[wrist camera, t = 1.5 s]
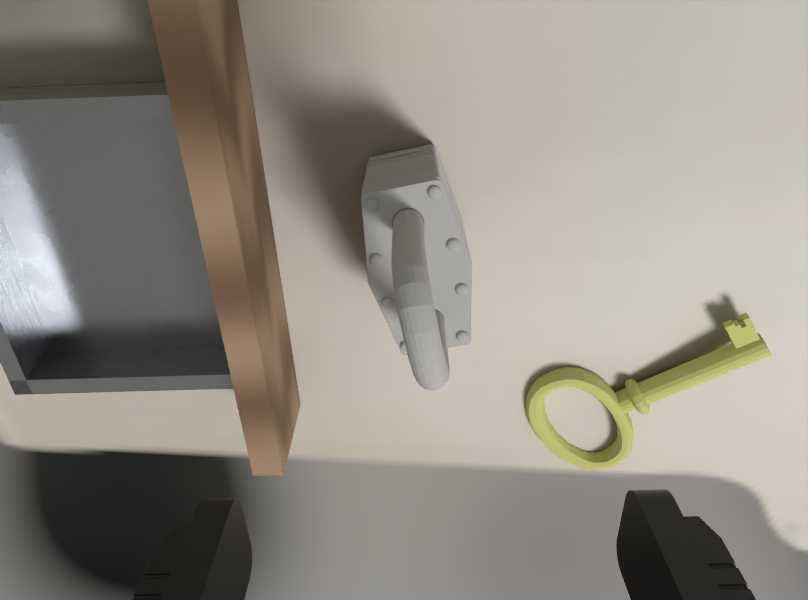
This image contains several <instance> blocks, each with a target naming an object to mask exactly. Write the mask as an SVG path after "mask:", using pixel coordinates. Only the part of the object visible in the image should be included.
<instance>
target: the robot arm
mask: <svg viewBox="0 0 808 600" xmlns="http://www.w3.org/2000/svg"><path fill="white" fill-rule="evenodd" d="M617 557H618V562H619V567H620V571H621V574H622V576H623V579H624V582H625V585H626V587H627V590H628V593H629V596H630V598H631V600H756V599H755V597H754V595H753V594H752V592H751V590H750V589H748V588H747V583H746V581H745V580H744V578H743V576H742V574H741V572H740V571H739V569H738V568H736V566H735V562H734V560H733V558H732V557H731V555H730V553H729V551H728V550H727V548H726V546H725V544H724V542H723V541H722V539H721V537H719V536H718V535H717V534H716V533H715V532H714V531H713V530H712V529H711V528H710V527H709V526H708V525H707V524H706V523H705V522H704V521H702V519H700V518H699V517H698V516H694V517H683V515H682V513H681V511H680V509H679V507H678V505H677V503H676V502H675V499H674V498H673V496H672V494H671V493H670V492H669V491H668V490H630V491H628V492H627V494H626V498H625V503H624V507H623V512H622V518H621V522H620V527H619V532H618V537H617ZM251 568H252V547H251V543H250V538H249V534H248V530H247V526H246V521H245V517H244V513H243V509H242V505H241V502H240V500H239V499H238V498H232V499H202V500H201V501H200V502H199V503H198V505H197V508H196V510H195V512H194V515H193V517H192V520H191V522H190V525H189V527H173V528H172V529H171V530H170V532H169V533H168V534H167V535H166V536H165V537H164V538H163V539H162V541H161V542H160V543H159V544H158V545H157V546H156V547H155V548H154V550H153V552H152V554H151V557H150V559H149V561H148V563H147V566H146V568H145V571H144V572H143V578H142V579H141V580H140V582H139V584H138V586H137V589H136V591H135V593H134V599H133V600H244V599H245V595H246V591H247V587H248V583H249V579H250V575H251Z"/></svg>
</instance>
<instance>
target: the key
mask: <svg viewBox="0 0 808 600" xmlns="http://www.w3.org/2000/svg"><path fill="white" fill-rule="evenodd" d="M740 316H741V318H742V320H743V322H740V323H739V322H738V321H737V320H734V321H732V320H731V319H730V320H728V321H726V322H723V323H722V324H723V326H724V327H725V329H726V331H727V333H728V335H729V337H730V339H731V341H732V344H729V345H727V346H724V347H722V348H720V349H717V350H715V351H712V352H710V353H708V354H705V355H703V356H700V357H698V358H696V359H693V360H691V361H688V362H686V363H684V364H681V365H679V366H676V367H674V368H672V369H669V370H667V371H664V372H662V373H660V374H657V375H655V376H653V377H650V378H648V379H645V380H643V381H641V382H636V381H635V380H634V379H632V378H630V379H627V380H626V382H625V388H624V389H621V390H619V391H617V392H614V391H613V389H612V388H611V387H610V386H609V385H608V384H607V383H606V382H605V381H604V380H603V379H601V378H600V377H599V376H597V375H596V374H594V373H592V372H589V371H587V370H584V369H582V368H576V367H562V368H558V369H554V370H552V371H549V372H547V373H545V374H543V375H542V376H540V377H538V379H537V380H536V381H535V382H534V383H533V384H532V386H531V387H530V389H529V391H528V394H527V398H526V415H527V418H528V421H529V423H530V425H531V427H532V429H533V431H534V432H535V434H536V435H537V436H538V438H539V439H540V440H541V441H542V442H543V443H544V444H545V445H546V447H548V448H549V449H550V450H551V451H552V452H553V453H554V454H555V455H557V456H558V457H559V458H561V459H563V460H565V461H567V462H569V463H571V464H573V465H575V466H578V467H581V468H585V469H593V470H596V469H605V468H609V467H612V466H614V465H616V464H618V463H620V462H621V461H623V460H624V459H625V458H626V457H627V456H628V454H629V452H630V451H631V449H632V442H633V430H632V423H631V419H630V417H629V415H628V412H631V411H633V410H636V409H637V410H638V411H639V412H640V413H642V414H647V413H648V412H649V404H651V403H653V402H656V401H658V400H661V399H663V398H666V397H668V396H671V395H673V394H676V393H678V392H681V391H683V390H686V389H688V388H691V387H693V386H696V385H698V384H701V383H703V382H706V381H708V380H711V379H713V378H716V377H718V376H721V375H723V374H726V373H728V372H730V371H733V370H735V369H738V368H740V367H743V366H745V365H748V364H750V363H753V362H755V361H758V360H760V359H763V358H765V357H768V356H770V355H771V353H770V350H769V349H768V347H767V345H766V343H765V342H764V340H763V338H762V337H761V336H760V334H759V333H757V332H756V330H755V328H754V326H753V324H752V322H751V319H750V317H749V316H748V315H747V313H744V314H742V315H740ZM564 387H575V388H580V389H582V390H584V391H586V392H588V393H590V394H592V395H593V396H595V397H596V398H597V399H599V400H600V401H601V402H602V403H603V404H604V405H605V406H606V407H607V408H608V410H609V411H610V412H611V414H612V415H613V418H614V420H615V422H616V425H617V437H616V439H615V441H614V442H613V444H612V445H611V446H609V447H608V448H606V449H605V450H603V451H599V452H586V451H583V450H581V449H579V448H576V447H574V446H573V445H571V444H569V443H568V442H566V441H565V440H564V439H563V438H562V437H560V436H559V435H558V434H557V432H556V431H555V430H554V429H553V427H552V426H551V424H550V422H549V420H548V418H547V416H546V413H545V408H544V398H545V396H546V395H547V394H548V393H549V392H551V391H553V390H556V389H559V388H564Z"/></svg>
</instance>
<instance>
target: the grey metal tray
mask: <svg viewBox="0 0 808 600" xmlns="http://www.w3.org/2000/svg"><path fill="white" fill-rule="evenodd" d="M0 362H1V364H2V367H3V369H4V371H5V373H6V375H7V378H8V380H9V382H10V384H11V386H12V389H13V391H14V393H15V395H17V394H53V393H89V392H125V391H161V390H197V389H233V383H232V379H231V374H230V370H229V365H228V361H227V356H226V352H225V347H224V343H223V339H222V334H221V330H220V325H219V321H218V316H217V312H216V307H215V303H214V298H213V294H212V289H211V285H210V280H209V276H208V271H207V267H206V262H205V258H204V253H203V249H202V244H201V240H200V236H199V231H198V227H197V222H196V218H195V213H194V209H193V204H192V200H191V195H190V191H189V186H188V182H187V177H186V173H185V168H184V164H183V159H182V155H181V150H180V146H179V141H178V137H177V133H176V128H175V124H174V119H173V115H172V110H171V106H170V101H169V97H168V92H167V88H166V83H165V82H148V83H122V84H95V85H68V86H41V87H15V88H0Z"/></svg>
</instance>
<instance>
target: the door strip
mask: <svg viewBox="0 0 808 600" xmlns="http://www.w3.org/2000/svg"><path fill="white" fill-rule="evenodd" d="M147 3H148V7H149V12H150V16H151V21H152V25H153V30H154V34H155V38H156V43H157V47H158V52H159V56H160V61H161V65H162V70H163V74H164V79H165V83H166V88H167V92H168V97H169V101H170V106H171V110H172V115H173V119H174V124H175V128H176V133H177V137H178V141H179V146H180V150H181V155H182V159H183V164H184V168H185V173H186V177H187V182H188V186H189V191H190V195H191V200H192V204H193V209H194V213H195V218H196V222H197V227H198V231H199V236H200V240H201V244H202V249H203V253H204V258H205V262H206V267H207V271H208V276H209V280H210V285H211V289H212V294H213V298H214V303H215V307H216V312H217V316H218V321H219V325H220V330H221V334H222V339H223V343H224V347H225V352H226V356H227V361H228V365H229V370H230V374H231V379H232V383H233V388H234V392H235V397H236V401H237V406H238V410H239V415H240V419H241V424H242V428H243V433H244V437H245V441H246V446H247V450H248V455H249V459H250V464H251V468H252V472H253V476H255V475H283V474H284V470H285V466H286V462H287V458H288V453H289V449H290V445H291V441H292V437H293V433H294V429H295V424H296V420H297V416H298V412H299V408H300V400H299V393H298V387H297V381H296V374H295V368H294V361H293V355H292V348H291V342H290V336H289V329H288V323H287V316H286V310H285V304H284V297H283V291H282V284H281V278H280V272H279V265H278V259H277V252H276V246H275V240H274V233H273V227H272V220H271V214H270V207H269V201H268V195H267V188H266V182H265V175H264V169H263V163H262V156H261V150H260V143H259V137H258V131H257V124H256V118H255V111H254V105H253V98H252V92H251V86H250V79H249V73H248V66H247V60H246V54H245V47H244V41H243V34H242V28H241V22H240V15H239V9H238V2H237V0H147Z"/></svg>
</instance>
